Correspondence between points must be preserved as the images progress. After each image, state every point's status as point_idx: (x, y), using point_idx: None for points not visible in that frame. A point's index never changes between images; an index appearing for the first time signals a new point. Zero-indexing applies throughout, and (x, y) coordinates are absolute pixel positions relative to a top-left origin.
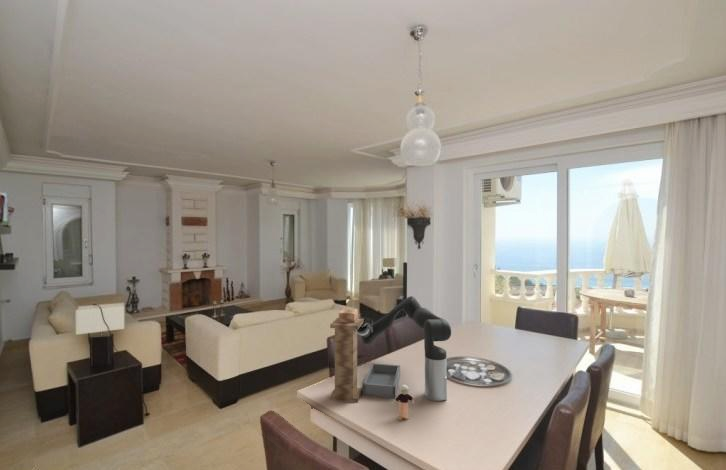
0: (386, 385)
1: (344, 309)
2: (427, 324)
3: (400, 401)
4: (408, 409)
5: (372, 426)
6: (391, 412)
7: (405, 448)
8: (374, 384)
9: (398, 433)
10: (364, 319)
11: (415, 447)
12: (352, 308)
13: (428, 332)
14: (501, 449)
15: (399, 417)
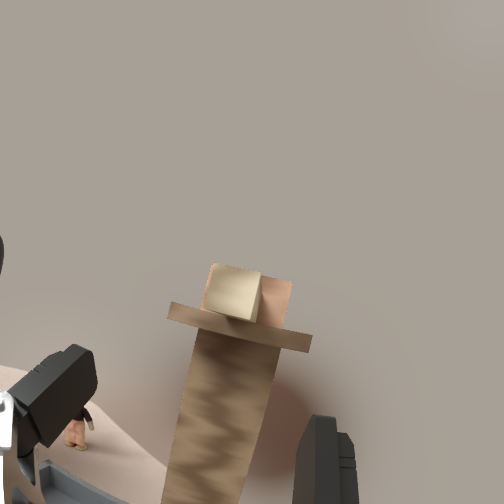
0: (67, 474)
1: (283, 280)
2: (3, 245)
3: (83, 418)
4: (66, 428)
5: (140, 455)
6: (88, 462)
7: (109, 419)
8: (101, 492)
9: (104, 433)
10: (93, 375)
11: (95, 415)
12: (258, 272)
13: (1, 267)
14: (10, 371)
15: (84, 443)
